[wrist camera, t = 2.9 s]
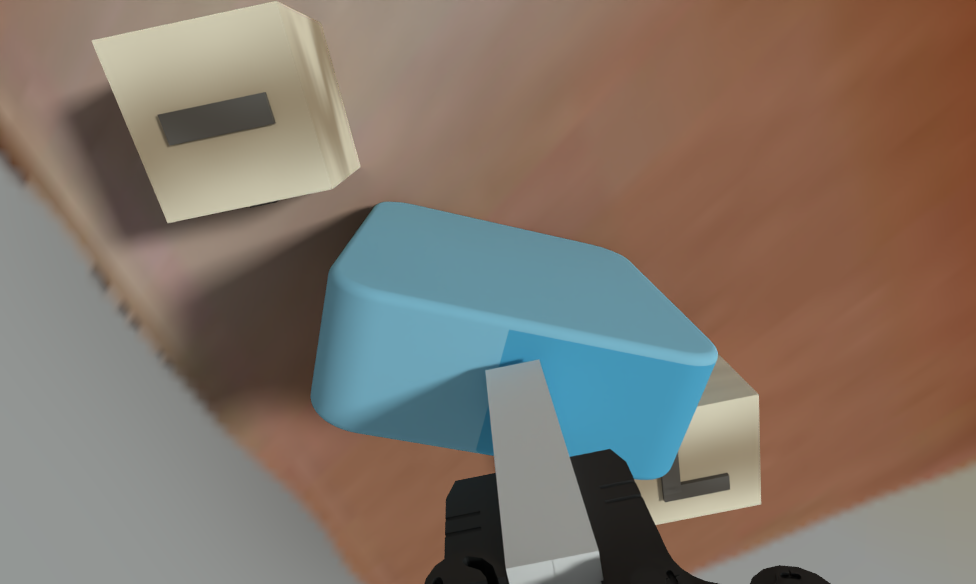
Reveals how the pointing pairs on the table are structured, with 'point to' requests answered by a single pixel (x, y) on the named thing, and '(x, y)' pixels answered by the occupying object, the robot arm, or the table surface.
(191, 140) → the maple block one
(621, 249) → the table surface
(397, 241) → the data package
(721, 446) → the maple block seven
